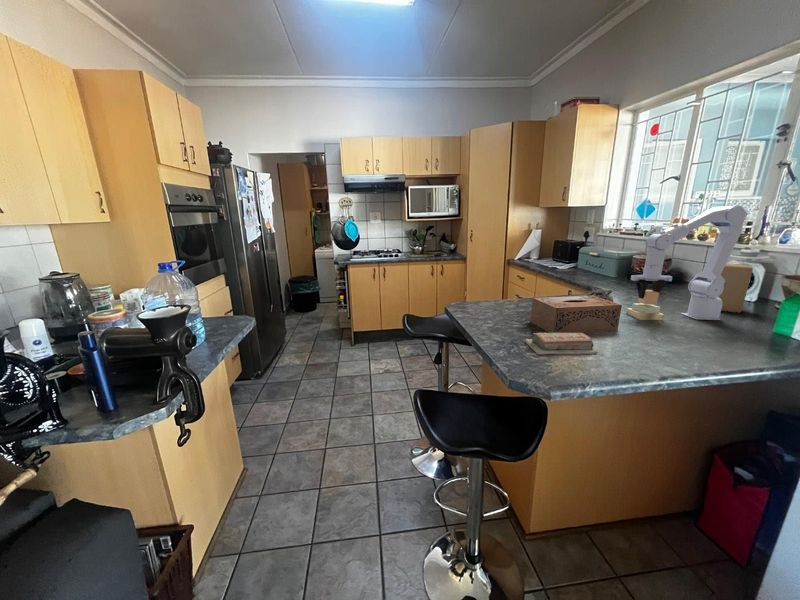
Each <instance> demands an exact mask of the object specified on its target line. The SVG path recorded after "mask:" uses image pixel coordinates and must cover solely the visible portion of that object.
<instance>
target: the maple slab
mask: <svg viewBox="0 0 800 600" xmlns="http://www.w3.org/2000/svg"><path fill="white" fill-rule="evenodd" d="M625 314H626V315H628V316H630V317H632V316H633V317H632V318H634V317H635V318H634V319H637V320H639V321H664V317H665V314H664V313H662V312H659V313H649V314H645V313H642V312H639V311H635V310H632V307H627V308H626V312H625Z"/></svg>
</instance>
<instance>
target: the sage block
mask: <svg viewBox="0 0 800 600" xmlns="http://www.w3.org/2000/svg"><path fill="white" fill-rule="evenodd" d="M631 308H632V310H635V311H639V312H642V313H645V314H649V313H661V311H660V310H661V306H658V305H652V304H643V303H640V302H639V303H638V302H637V303H635V302H634V303H632V306H631Z"/></svg>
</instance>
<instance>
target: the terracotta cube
mask: <svg viewBox="0 0 800 600" xmlns="http://www.w3.org/2000/svg"><path fill="white" fill-rule="evenodd" d="M659 295H660V293H659V292H656V291H653V290H652V289H646V291H645V295H644V298H643V299H642V298H639V297H638V298H637V303H638V302H639V303H643V304H652V305H655V306H658V300H659Z"/></svg>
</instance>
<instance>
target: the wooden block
mask: <svg viewBox="0 0 800 600" xmlns="http://www.w3.org/2000/svg"><path fill="white" fill-rule="evenodd" d="M753 270H754V269H753V267H752V266H750V265H747V264H740V263H739V264H738V263H726V265H725V267H724V269H723V271H722V273H721V276H722V277H723V278H724V280H725V283H724V289H723V292H722V294H721V295H719V296H718V297H719V298H720V299H721V300H722V308H721V312H727V311H728V313H736V312H737V313H741V312H743V311H742V310H743V308H744V307H743V306H744V304H745V300H746V297H747V296H746V295H747V292H748V289H749V284H750V281H751V277H752V275H753V274H752V273H753Z"/></svg>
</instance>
